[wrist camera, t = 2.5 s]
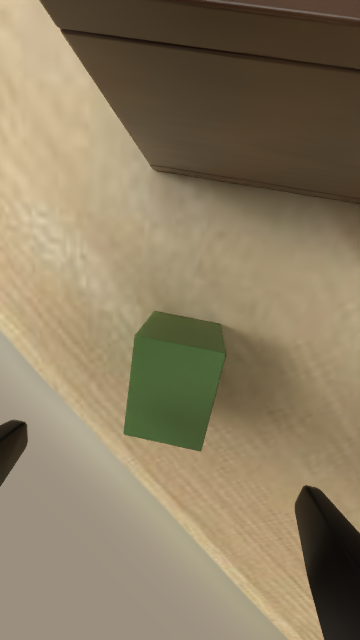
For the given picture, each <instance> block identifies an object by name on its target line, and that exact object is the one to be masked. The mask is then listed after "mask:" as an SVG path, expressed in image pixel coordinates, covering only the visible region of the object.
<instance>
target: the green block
mask: <svg viewBox="0 0 360 640" xmlns="http://www.w3.org/2000/svg"><path fill="white" fill-rule="evenodd" d="M225 357H226V351H225V345H224V340H223V335H222V330H221V325H220V324H218V323H212V322H207V321H202V320H197V319H192V318H187V317H181V316H176V315H171V314H166V313H161V312H156V311H155V312H153V314H152V315H151V316H150V317H149V319H148V320H147V321H146V322H145V324H144V325H143V326H142V327H141V329H140V330H139V331H138V332H137V334H136V335H135V339H134V348H133V356H132V365H131V374H130V382H129V391H128V400H127V408H126V417H125V426H124V435H129V436H133V437H138V438H142V439H147V440H151V441H156V442H160V443H165V444H169V445H174V446H178V447H183V448H188V449H192V450H197V451H201V450H202V446H203V442H204V439H205V435H206V431H207V427H208V423H209V419H210V415H211V411H212V407H213V404H214V400H215V396H216V392H217V388H218V384H219V380H220V376H221V372H222V369H223V365H224V361H225Z"/></svg>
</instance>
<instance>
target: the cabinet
mask: <svg viewBox="0 0 360 640" xmlns="http://www.w3.org/2000/svg"><path fill="white" fill-rule="evenodd" d="M40 2H41V3H42V5H43V6H44V8H45V9H46V11H47V12H48V14H49V15H50V17H51V18H52V20H53V21H54V23H55V24H56V26H57V27H59V28H60V29H61V32H62V34H63V36H64V37H65V39H66V40H67V42H68V43H69V45H70V46H71V48H72V49H73V51H74V52H75V54H76V55H77V57H78V58H79V60H80V61H81V63H82V64H83V66H84V67H85V68H86V70H87V71H88V73H89V74H90V76H91V77H92V79H93V80H94V82H95V83H96V85H97V86H98V88H99V89H100V91H101V92H102V94H103V95H104V97H105V98H106V100H107V101H108V103H109V104H110V106H111V107H112V109H113V110H114V112H115V113H116V115H117V116H118V118H119V119H120V121H121V122H122V124H123V125H124V127H125V128H126V130H127V131H128V133H129V134H130V136H131V137H132V139H133V140H134V142H135V143H136V145H137V146H138V148H139V149H140V151H141V152H142V154H143V155H144V157H145V158H146V160H147V161H148V163H149V164H150V166H151V167H152V169H153V170H158V171H164V172H170V173H176V174H182V175H188V176H194V177H201V178H207V179H213V180H219V181H225V182H231V183H237V184H243V185H250V186H256V187H262V188H268V189H274V190H280V191H286V192H292V193H299V194H305V195H311V196H317V197H323V198H329V199H335V200H341V201H348V202H354V203H360V0H40Z"/></svg>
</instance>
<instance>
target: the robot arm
mask: <svg viewBox="0 0 360 640" xmlns="http://www.w3.org/2000/svg"><path fill="white" fill-rule="evenodd" d="M27 442H28V436H27V424H26V423H25V422H23V421H18V420H11V421H9V422H6V423H4V424H2V425H0V486H1V485H2V483H3V482H4V480H5V478H6V477H7V476H8V474H9V472H10V471H11V469H12V468H13V466H14V465H15V463H16V462H17V460H18V459H19V457H20V456H21V454H22V453H23V451H24V450H25V448H26V446H27ZM295 514H296V519H297V525H298V530H299V535H300V541H301V546H302V551H303V556H304V562H305V567H306V572H307V576H308V581H309V585H310V589H311V592H312V596H313V600H314V603H315V607H316V611H317V615H318V618H319V622H320V626H321V629H322V633H323V637H324V640H360V533H359V532H358V531H357V530H356V529H355V528H354V526H353V525H352V524H351V523H350V522H349V521H348V520H347V519H346V518H345V516H344V515H343V514H342V513H341V512H340V511H339V510H338V509H337V508H336V506H335V505H334V504H333V503H332V502H331V501H330V500H329V499H328V498H327V496H326V495H325V494H324V493H323V492H322V491H321V490H320V489H318V488H316V487H312V486H307V485H305V486H303V488H302V490H301V492H300V494H299V496H298V498H297V500H296V503H295Z"/></svg>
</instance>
